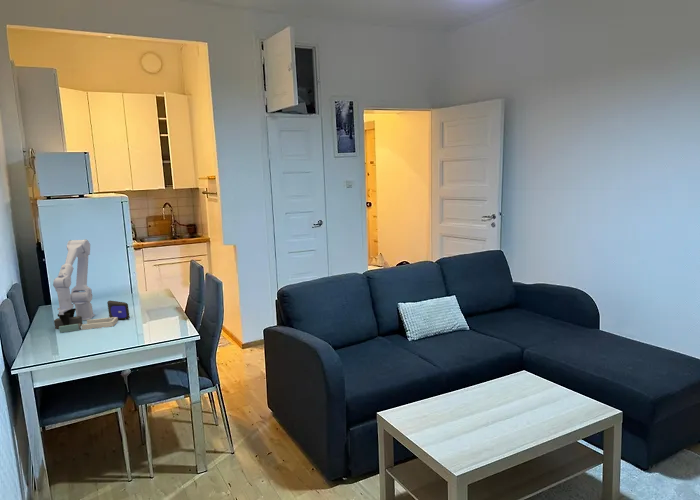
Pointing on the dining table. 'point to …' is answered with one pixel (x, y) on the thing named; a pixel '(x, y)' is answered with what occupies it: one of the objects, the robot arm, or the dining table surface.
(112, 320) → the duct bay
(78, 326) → the sage green post
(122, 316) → the leaning round-cornered charcoal block
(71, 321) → the dark brown rectangular block
